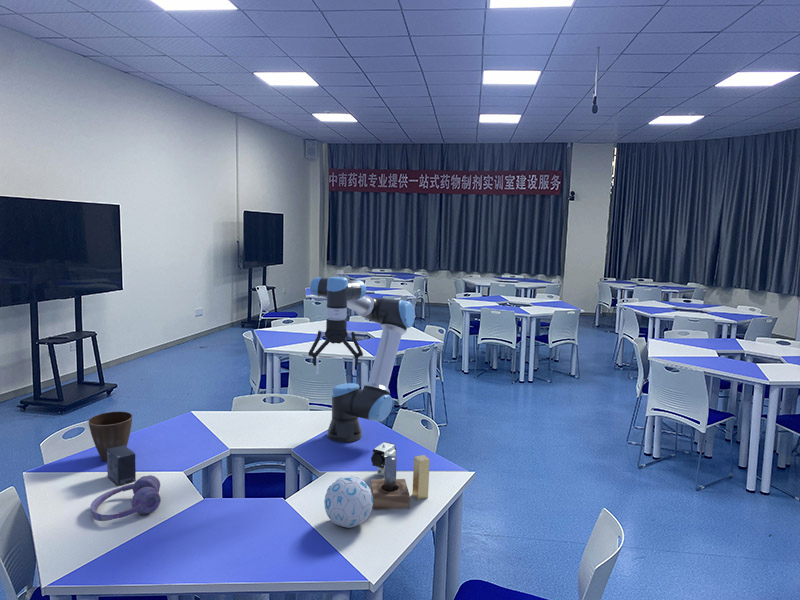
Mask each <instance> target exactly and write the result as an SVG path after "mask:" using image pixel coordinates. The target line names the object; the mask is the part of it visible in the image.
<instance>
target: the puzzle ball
mask: <svg viewBox="0 0 800 600" xmlns="http://www.w3.org/2000/svg"><path fill="white" fill-rule="evenodd" d="M324 509H325V513H326V515H327V517H328V518H329V521H331V523H333V524H334V525H337V526H340V527H342V528H346V529H350V528H354V527H356V526H359V525H360V524H362V523H364V522H365V521H367V520H366V519H368V518H369V516H370V514H371V511H372V510H373V497H372V493H371V487H370V486H369V485H368V484H367V483H366V482H365V481H364V480H363V479H360V478H359V477H357V476H352V475H348V476H346V475H345V476H343V477H340V478H338V479H336V480H335V481H334V482H332V483H331V485H329V487H328V488H327V489H326V492H325V495H324Z"/></svg>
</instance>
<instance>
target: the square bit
mask: <svg viewBox="0 0 800 600" xmlns="http://www.w3.org/2000/svg"><path fill="white" fill-rule="evenodd" d="M430 462H431V459H430V458H429V457H427V455H425V454H420V455H417V456H413V474H412V496H413V497H414V498H415V499H417V500H418V501H419V500H423V499H428V498H429V487H430V486H429V485H430V464H431V463H430Z"/></svg>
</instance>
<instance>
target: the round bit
mask: <svg viewBox="0 0 800 600" xmlns="http://www.w3.org/2000/svg"><path fill="white" fill-rule="evenodd" d="M397 464H398V458H397V456H396V457H395V456H386V457H385V475H384V476H383V479H384V491H388V492H393V491H396V479H397V467H398V465H397Z"/></svg>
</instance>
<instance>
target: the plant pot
mask: <svg viewBox="0 0 800 600" xmlns="http://www.w3.org/2000/svg"><path fill="white" fill-rule="evenodd" d="M132 425H133V414H132V413H131V412H128V411H110V412H109V411H108V412H104V413H100V414H96V415H93V416H91V417H90V418H89V419H88V427H89V430H90V431H89V432H90V434H91V437H92V440H93V444H94V446H95V448H96V451H97V453H98V455H99V456H100V458H101V460H102V461H103V462H107V449H109V448H114V447H118V446H122V445H125V446H126V447H127V448H128V444H129V440H130V436H131V432H132V431H131V430H132Z"/></svg>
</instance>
